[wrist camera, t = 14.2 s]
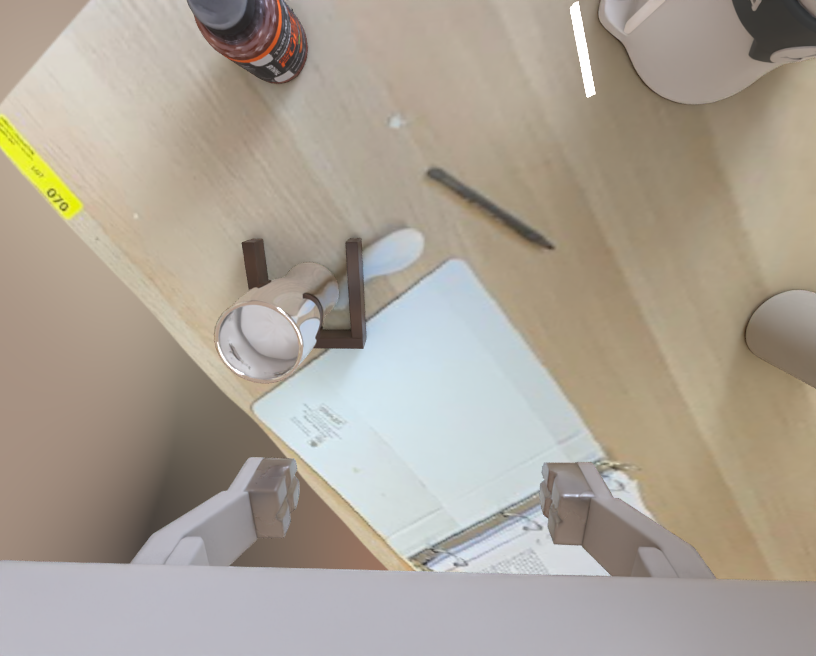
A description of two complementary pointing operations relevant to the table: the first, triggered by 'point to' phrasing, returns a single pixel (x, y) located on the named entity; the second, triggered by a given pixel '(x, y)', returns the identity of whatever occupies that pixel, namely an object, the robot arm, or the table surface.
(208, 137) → the table surface
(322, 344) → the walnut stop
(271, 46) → the supplement bottle
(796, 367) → the travel mug
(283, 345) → the beer glass
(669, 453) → the table surface
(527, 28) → the table surface
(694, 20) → the robot arm
